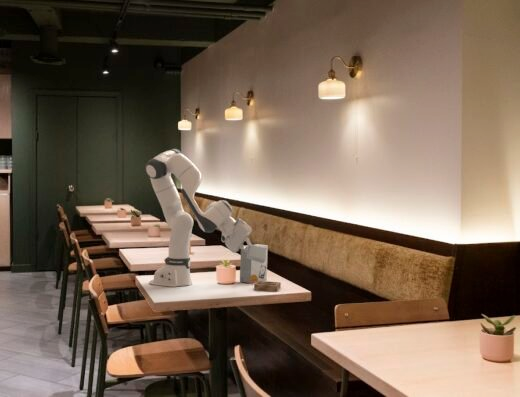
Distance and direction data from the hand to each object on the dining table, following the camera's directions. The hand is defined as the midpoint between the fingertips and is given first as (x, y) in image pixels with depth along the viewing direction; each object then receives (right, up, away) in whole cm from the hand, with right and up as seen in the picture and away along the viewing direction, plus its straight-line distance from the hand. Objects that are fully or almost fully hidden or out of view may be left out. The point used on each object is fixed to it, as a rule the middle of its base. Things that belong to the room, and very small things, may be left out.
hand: (249, 248), depth 321 cm
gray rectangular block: (+8, -4, +1) cm, 9 cm away
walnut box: (+9, -22, +13) cm, 27 cm away
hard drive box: (+2, -21, +35) cm, 41 cm away
